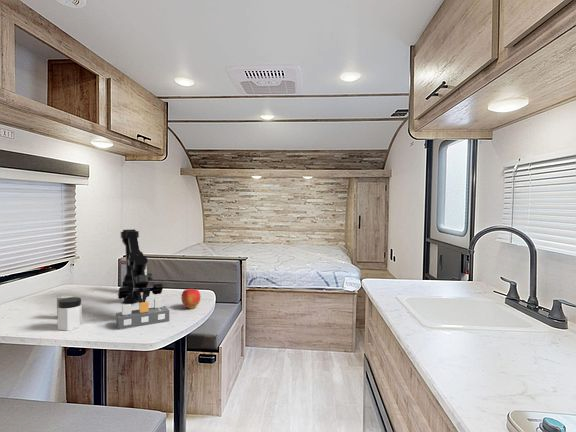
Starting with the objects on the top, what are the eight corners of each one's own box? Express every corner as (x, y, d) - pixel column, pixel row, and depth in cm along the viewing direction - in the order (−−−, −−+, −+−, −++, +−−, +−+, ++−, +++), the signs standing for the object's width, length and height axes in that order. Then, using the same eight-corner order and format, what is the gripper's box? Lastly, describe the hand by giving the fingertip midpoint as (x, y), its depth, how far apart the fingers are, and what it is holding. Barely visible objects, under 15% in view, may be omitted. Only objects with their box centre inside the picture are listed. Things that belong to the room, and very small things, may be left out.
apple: (200, 310, 174) (200, 290, 174) (180, 311, 172) (180, 291, 172) (200, 304, 183) (200, 286, 183) (182, 305, 181) (182, 286, 181)
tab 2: (139, 311, 153) (139, 302, 153) (147, 310, 155) (147, 301, 155) (140, 312, 152) (140, 303, 152) (148, 311, 154) (148, 302, 153)
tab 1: (121, 314, 150) (121, 305, 149) (130, 312, 152) (130, 303, 151) (122, 315, 148) (122, 306, 148) (131, 314, 150) (131, 304, 150)
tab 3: (154, 307, 160) (154, 298, 160) (161, 306, 162) (161, 297, 162) (154, 308, 159) (154, 299, 158) (162, 307, 161) (162, 298, 160)
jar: (78, 322, 154) (78, 295, 153) (85, 326, 149) (85, 299, 148) (54, 327, 147) (54, 299, 147) (61, 332, 142) (61, 303, 141)
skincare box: (74, 317, 161) (73, 295, 161) (66, 320, 157) (66, 298, 156) (64, 316, 162) (64, 295, 161) (56, 319, 157) (56, 297, 157)
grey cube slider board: (116, 323, 153) (116, 312, 153) (165, 316, 164) (165, 305, 164) (118, 329, 146) (118, 317, 146) (169, 321, 157) (169, 310, 157)
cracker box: (147, 293, 203) (147, 258, 203) (139, 296, 198) (139, 260, 197) (128, 291, 208) (128, 257, 207) (120, 293, 202) (120, 258, 201)
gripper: (118, 269, 153) (122, 300, 144) (162, 266, 163) (167, 294, 154) (116, 283, 160) (119, 313, 151) (158, 279, 170) (163, 307, 161)
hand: (143, 306), depth 154 cm, fingers closed, pressing on tab 2
